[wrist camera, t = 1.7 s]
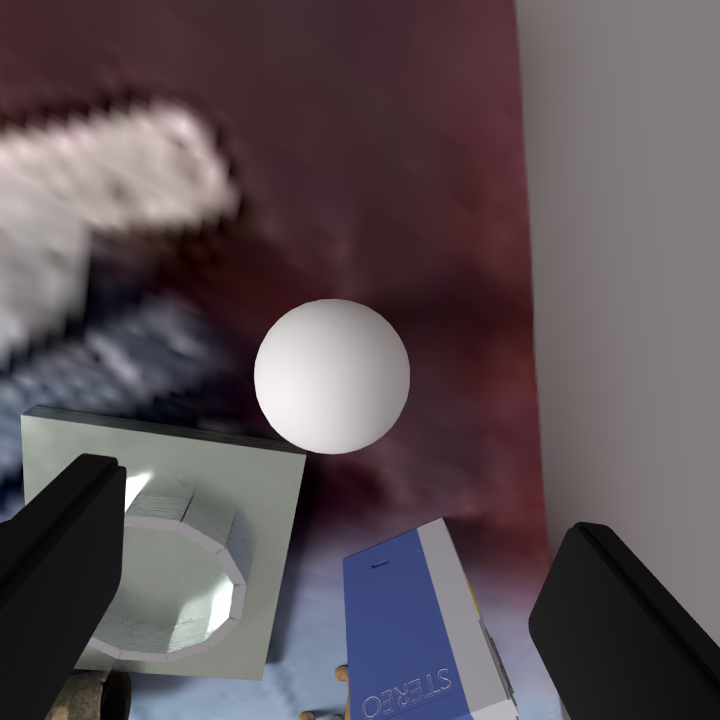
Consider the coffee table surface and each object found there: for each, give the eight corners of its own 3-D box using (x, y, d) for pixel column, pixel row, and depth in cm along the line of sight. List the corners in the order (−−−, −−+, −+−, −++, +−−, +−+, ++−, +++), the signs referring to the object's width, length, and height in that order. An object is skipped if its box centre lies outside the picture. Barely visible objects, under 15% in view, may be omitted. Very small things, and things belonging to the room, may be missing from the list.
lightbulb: (261, 350, 24) (213, 452, 14) (302, 252, 23) (284, 287, 12) (355, 389, 26) (375, 509, 15) (401, 299, 24) (458, 366, 14)
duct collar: (34, 405, 24) (-6, 432, 21) (307, 444, 27) (304, 474, 24) (43, 649, 31) (13, 697, 28) (264, 664, 33) (257, 710, 30)
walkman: (358, 584, 31) (377, 799, 20) (342, 558, 30) (352, 767, 19) (456, 544, 30) (533, 740, 19) (443, 516, 29) (516, 706, 18)
